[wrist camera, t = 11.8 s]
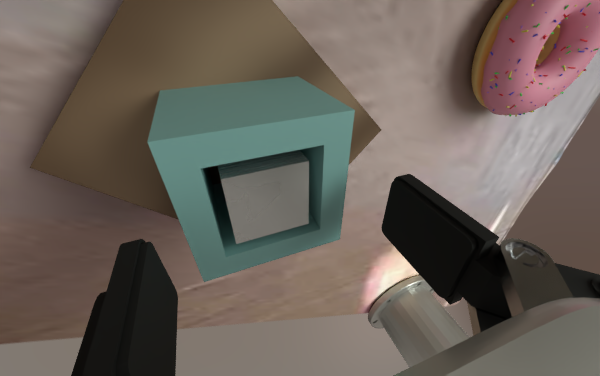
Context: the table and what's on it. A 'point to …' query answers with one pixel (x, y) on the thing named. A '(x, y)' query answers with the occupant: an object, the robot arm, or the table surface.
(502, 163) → the table surface
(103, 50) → the post board
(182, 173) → the collar
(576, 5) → the doughnut
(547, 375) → the robot arm
